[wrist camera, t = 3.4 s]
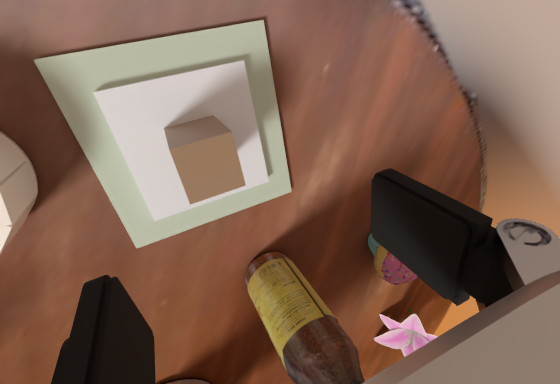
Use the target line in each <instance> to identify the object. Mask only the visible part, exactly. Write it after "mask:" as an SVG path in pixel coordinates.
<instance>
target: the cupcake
mask: <svg viewBox="0 0 560 384" xmlns="http://www.w3.org/2000/svg"><path fill="white" fill-rule="evenodd" d="M368 246H369V248H370V249H371V251H372V253H373V255H374V256H375V258H374V267H375V269H376V271H377V273H378V274H379V275H380V276H381V277H382V278H383V279H384V280H385V281H387V282H389V283H392V284H396V285H398V284H401V283H407V282H409V281H412V280H416V278H417V277H418V276H417V275H416V274H415V273H413V272H412V271H411V270H410V269H409V268H407V267H406V266H405V265H404V264H403V263H401V262H400V261H399V260H398V259H397V258H396V257H394V256H393V255H392V254H391V253H390V252H388V251H387V250H386V249H385V248H384V247H382V246H381V245H380V244H379V243H378V242H377V241H375V240H374V238H373V237H372V234H371V233H370V235H369V237H368Z"/></svg>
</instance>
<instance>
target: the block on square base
mask: <svg viewBox="0 0 560 384" xmlns="http://www.w3.org/2000/svg"><path fill="white" fill-rule="evenodd" d="M93 93H94V95H95V98H96V100H97V102H98V104H99V106H100V108H101V110H102V112H103V114H104V116H105V119H106V121H107V123H108V125H109V127H110V129H111V131H112V133H113V135H114V137H115V140H116V142H117V144H118V146H119V148H120V150H121V152H122V154H123V156H124V158H125V161H126V163H127V165H128V167H129V169H130V171H131V173H132V175H133V177H134V179H135V182H136V184H137V186H138V188H139V190H140V192H141V194H142V196H143V198H144V200H145V203H146V205H147V207H148V209H149V211H150V213H151V215H152V217H153V219H154V221H157V220H160V219H163V218H166V217H168V216H171V215H174V214H177V213H180V212H183V211H186V210H189V209H191V208H194V207H197V206H200V205H203V204H206V203H209V202H212V201H214V200H217V199H220V198H223V197H226V196H229V195H232V194H235V193H237V192H240V191H243V190H246V189H249V188H252V187H255V186H258V185H260V184H263V183H266V182H269V179H268V174H267V169H266V165H265V160H264V155H263V150H262V145H261V140H260V135H259V131H258V126H257V121H256V116H255V111H254V106H253V102H252V97H251V92H250V87H249V82H248V77H247V72H246V68H245V63H244V60H239V61H235V62H230V63H225V64H220V65H216V66H211V67H206V68H201V69H197V70H192V71H187V72H183V73H178V74H173V75H168V76H164V77H159V78H154V79H149V80H145V81H140V82H135V83H131V84H126V85H121V86H116V87H112V88H107V89H102V90H98V91H94V92H93Z"/></svg>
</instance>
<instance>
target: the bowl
mask: <svg viewBox="0 0 560 384" xmlns="http://www.w3.org/2000/svg"><path fill="white" fill-rule="evenodd" d="M37 193H38V180H37V175H36V172H35V169H34V167H33V165H32V163H31V161H30V159H29V158H28V156H27V155H26V154H25V152H24V151H23V150H22V149H21V148H20V147H19V146H18V145H17V144H16V143H15V142H14V141H13V140H12V139H11V138H9V137H8V136H7V135H6V134H4V133H3V132H1V131H0V255H1V253H2V252H3V251H4V249H5V248H6V247H7V245H8V244H9V242H10V241H11V240H12V238H13V237H14V236H15V234H16V233H17V231H18V230H19V229H20V227H21V226H22V225H23V223H24V222H25V220H26V218H27V216H28V214H29V212H30V210H31V209H32V207H33V205H34V203H35V201H36V198H37V195H38V194H37Z"/></svg>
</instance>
